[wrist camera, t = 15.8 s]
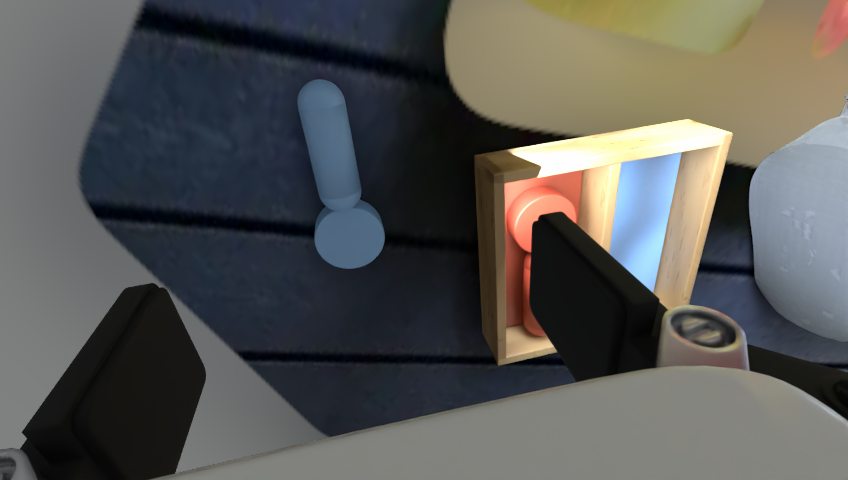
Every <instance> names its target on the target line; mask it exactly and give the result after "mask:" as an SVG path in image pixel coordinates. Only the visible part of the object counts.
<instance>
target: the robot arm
mask: <svg viewBox="0 0 848 480" xmlns="http://www.w3.org/2000/svg"><path fill="white" fill-rule="evenodd" d="M659 301H660V299H659V298H658V297H657V296H656V295H655V294H654V293H653V292H651V291H650V290H649V289H648V288H647V287H646V286H645V285H644V284H643V283H641V282H640V281H639V280H638V279H637V278H636V277H635V276H634V275H632V274H631V273H630V272H629V271H628V270H627V269H626V268H625V267H624V266H622V265H621V264H620V263H619V262H618V261H617V260H616V259H615V258H614V257H612V256H611V255H610V254H609V253H608V252H607V251H606V250H605V249H604V248H602V247H601V246H600V245H599V244H598V243H597V242H596V241H595V240H594V239H592V238H591V237H590V236H589V235H588V234H587V233H586V232H585V231H584V230H582V229H581V228H580V227H579V226H578V225H577V224H576V223H575V222H574V221H572V220H571V219H570V218H569V217H568V216H567V215H566V214H565V213H563V212H562V211H559V212H553V213H547V214H542V215H540V216H539V217H538V221H534V222H533V224H532V237H531V263H530V289H529V305H530V309H531V312H532V314H533V315H534V317H535V319H536V320H537V322H538V323H539V325H540V326H541V328H542V329H543V331H544V332H545V334H546V335H547V337H548V339H549V340H550V342H551V343H552V345H553V346H554V348H555V349H556V351H557V352H558V354H559V355H560V357H561V359H562V360H563V362H564V363H565V365H566V366H567V368H568V369H569V371H570V372H571V374H572V375H573V377H574V378H575V380H576V383H571V384H567V385H562V386H557V387H552V388H547V389H543V390H538V391H534V392H529V393H525V394H520V395H516V396H511V397H507V398H502V399H498V400H493V401H489V402H484V403H480V404H475V405H471V406H466V407H462V408H457V409H453V410H448V411H444V412H439V413H435V414H430V415H426V416H422V417H417V418H413V419H408V420H404V421H400V422H395V423H391V424H386V425H382V426H378V427H373V428H369V429H364V430H360V431H356V432H351V433H347V434H343V435H338V436H334V437H329V438H325V439H321V440H316V441H312V442H308V443H304V444H299V445H295V446H290V447H286V448H282V449H278V450H273V451H269V452H265V453H260V454H256V455H252V456H248V457H243V458H239V459H235V460H231V461H227V462H222V463H218V464H213V465H209V466H205V467H201V468H196V469H192V470H188V471H183V472H179V473H175V472H176V469H177V466H178V462H179V460H180V457H181V453H182V450H183V447H184V444H185V441H186V438H187V435H188V432H189V429H190V426H191V423H192V420H193V417H194V414H195V411H196V408H197V405H198V402H199V399H200V395H201V393H202V389H203V386H204V383H205V380H206V372H205V367H204V365H203V363H202V361H201V359H200V357H199V355H198V352H197V350H196V349H195V346H194V344H193V342H192V340H191V338H190V336H189V334H188V332H187V330H186V328H185V326H184V324H183V322H182V320H181V318H180V316H179V314H178V312H177V310H176V307H175V305H174V303H173V301H172V299H171V297H170V295H169V293H168V291H167V290H166V289H165V288H163V287H162V288H159V287H158V286H157V285H156V284H153V283H151V284H145V285H139V286H134V287H128V288H126V289H124V290H123V292H122V293H121V294H120V296H119V297H118V299H117V300H116V301H115V303H114V304H113V306H112V307H111V308H110V310H109V311H108V313H107V314H106V315H105V317H104V318H103V320H102V321H101V322H100V324H99V325H98V327H97V328H96V329H95V331H94V332H93V334H92V335H91V336H90V338H89V339H88V341H87V342H86V344H85V345H84V346H83V348H82V349H81V350H80V352H79V353H78V354H77V356H76V357H75V359H74V360H73V361H72V363H71V364H70V366H69V367H68V368H67V370H66V371H65V373H64V374H63V376H62V377H61V378H60V380H59V381H58V382H57V384H56V385H55V387H54V388H53V389H52V391H51V392H50V394H49V395H48V396H47V398H46V399H45V401H44V402H43V403H42V405H41V406H40V408H39V409H38V411H37V412H36V413H35V415H34V416H33V417H32V419H31V420H30V422H29V423H28V424H27V426H26V427H25V429H24V430H23V431H22V433H23V434H24V435H25V437H26V438H27V440H26V441H25V443H24V444H23V445H22V447H21V448H20V449H14V448H9V449H2V450H0V480H848V372H844V371H841V370H837V369H834V368H830V367H827V366H823V365H819V364H816V363H812V362H809V361H805V360H802V359H798V358H794V357H791V356H787V355H784V354H780V353H777V352H773V351H769V350H766V349H762V348H759V347H755V346H752V345H748V344H747V340H746V336H745V333H744V330H743V329H742V328H741V327H740V326H739V325H738V323H737V322H735V321H734V320H732V319H731V318H730V317H728V316H727V315H725V314H722V313H720V312H718V311H716V310H713V309H709V308H706V307H702V306H694V305H681V306H677V307H673V308H671V309H669V310H668V309H667V308H666V307H665V306H664V305H663V304H662V303H660V302H659Z"/></svg>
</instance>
